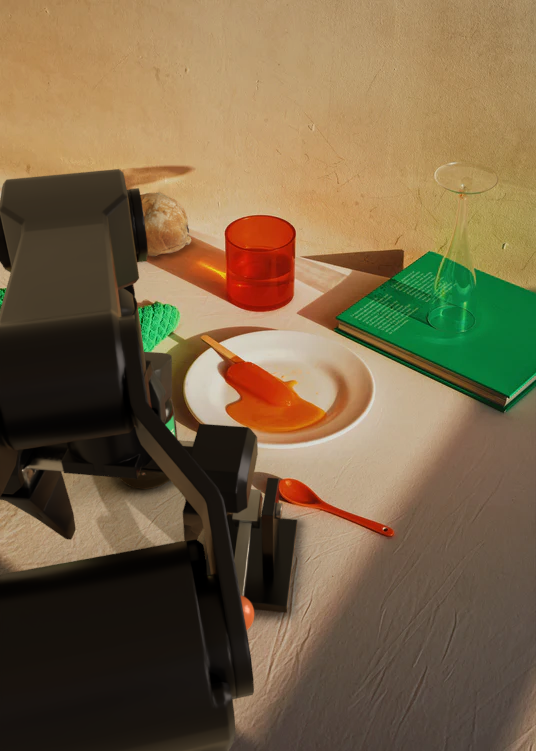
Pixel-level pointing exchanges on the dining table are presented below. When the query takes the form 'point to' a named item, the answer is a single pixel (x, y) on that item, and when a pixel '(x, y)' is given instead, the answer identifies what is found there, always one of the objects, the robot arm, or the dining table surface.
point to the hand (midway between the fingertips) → (130, 540)
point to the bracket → (268, 554)
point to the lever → (246, 546)
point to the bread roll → (164, 224)
